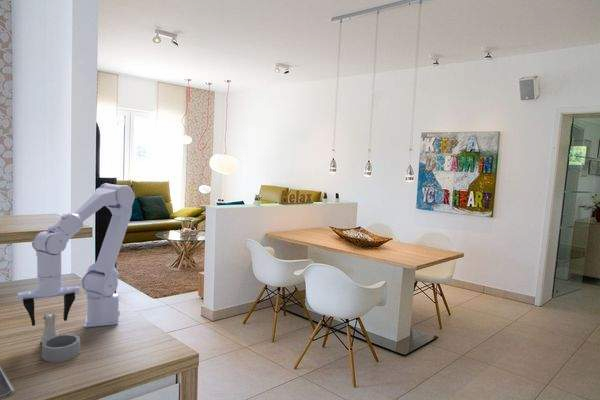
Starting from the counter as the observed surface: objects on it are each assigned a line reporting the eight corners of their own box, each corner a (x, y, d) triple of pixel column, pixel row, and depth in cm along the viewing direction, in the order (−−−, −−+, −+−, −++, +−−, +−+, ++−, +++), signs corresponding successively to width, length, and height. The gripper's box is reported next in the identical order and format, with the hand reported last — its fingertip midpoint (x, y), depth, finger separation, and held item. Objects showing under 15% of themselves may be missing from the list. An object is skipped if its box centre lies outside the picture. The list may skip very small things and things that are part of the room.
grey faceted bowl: (81, 344, 117) (81, 332, 116) (78, 359, 109) (78, 346, 108) (45, 348, 113) (45, 336, 113) (39, 363, 105) (39, 350, 105)
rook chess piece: (55, 336, 121) (55, 309, 120) (61, 341, 118) (61, 313, 117) (38, 340, 117) (37, 313, 117) (44, 346, 115) (44, 318, 114)
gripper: (76, 268, 123) (76, 312, 125) (17, 273, 115) (18, 321, 116) (80, 274, 117) (80, 321, 119) (18, 281, 109) (18, 330, 110)
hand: (49, 321), depth 117 cm, fingers open, 7 cm apart
